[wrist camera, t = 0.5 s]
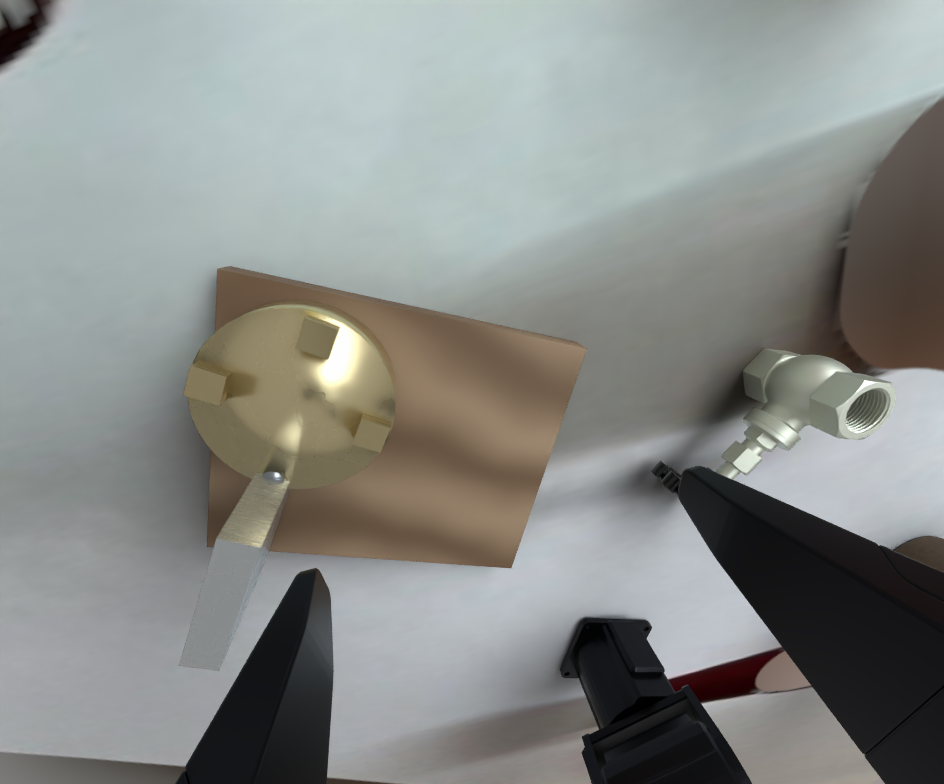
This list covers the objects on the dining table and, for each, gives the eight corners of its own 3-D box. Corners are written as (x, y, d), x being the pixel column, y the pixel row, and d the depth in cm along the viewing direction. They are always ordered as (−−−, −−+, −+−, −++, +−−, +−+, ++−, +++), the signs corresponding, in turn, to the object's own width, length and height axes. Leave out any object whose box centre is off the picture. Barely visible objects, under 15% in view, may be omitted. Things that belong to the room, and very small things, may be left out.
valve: (761, 319, 26) (634, 457, 28) (871, 345, 20) (697, 518, 22) (812, 374, 28) (690, 498, 31) (924, 413, 22) (761, 563, 25)
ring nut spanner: (235, 268, 18) (146, 288, 12) (421, 340, 21) (429, 387, 15) (168, 534, 23) (76, 653, 16) (329, 566, 25) (305, 681, 19)
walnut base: (506, 552, 29) (511, 568, 28) (217, 529, 25) (207, 546, 24) (576, 342, 24) (586, 348, 23) (230, 266, 20) (217, 268, 19)
